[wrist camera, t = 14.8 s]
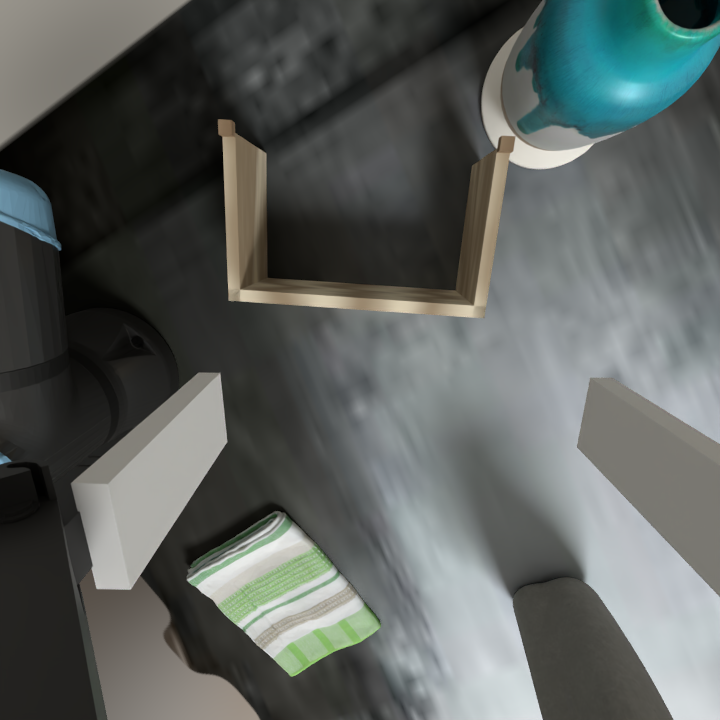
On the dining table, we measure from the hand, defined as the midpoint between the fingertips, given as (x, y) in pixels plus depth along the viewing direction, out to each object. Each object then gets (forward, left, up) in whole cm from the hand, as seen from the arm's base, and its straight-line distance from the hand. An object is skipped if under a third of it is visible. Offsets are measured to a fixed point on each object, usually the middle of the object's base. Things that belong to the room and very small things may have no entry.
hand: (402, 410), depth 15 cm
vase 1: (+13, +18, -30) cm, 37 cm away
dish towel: (-10, -43, -31) cm, 54 cm away
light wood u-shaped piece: (-3, +6, -30) cm, 31 cm away
